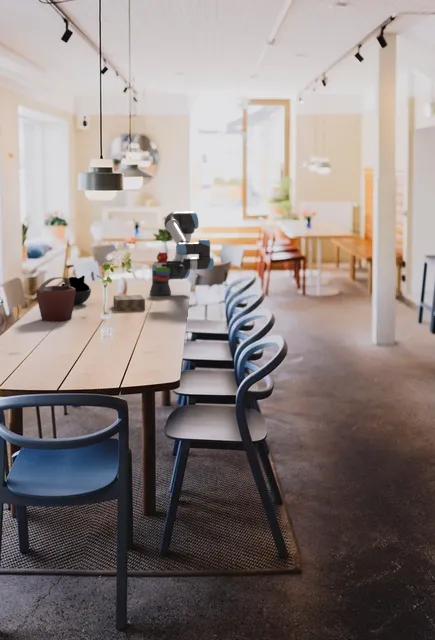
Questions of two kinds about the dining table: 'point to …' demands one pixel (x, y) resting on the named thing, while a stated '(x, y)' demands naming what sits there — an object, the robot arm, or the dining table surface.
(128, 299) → the walnut block
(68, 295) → the bucket
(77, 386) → the dining table surface
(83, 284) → the coal bowl
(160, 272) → the stacking bear
